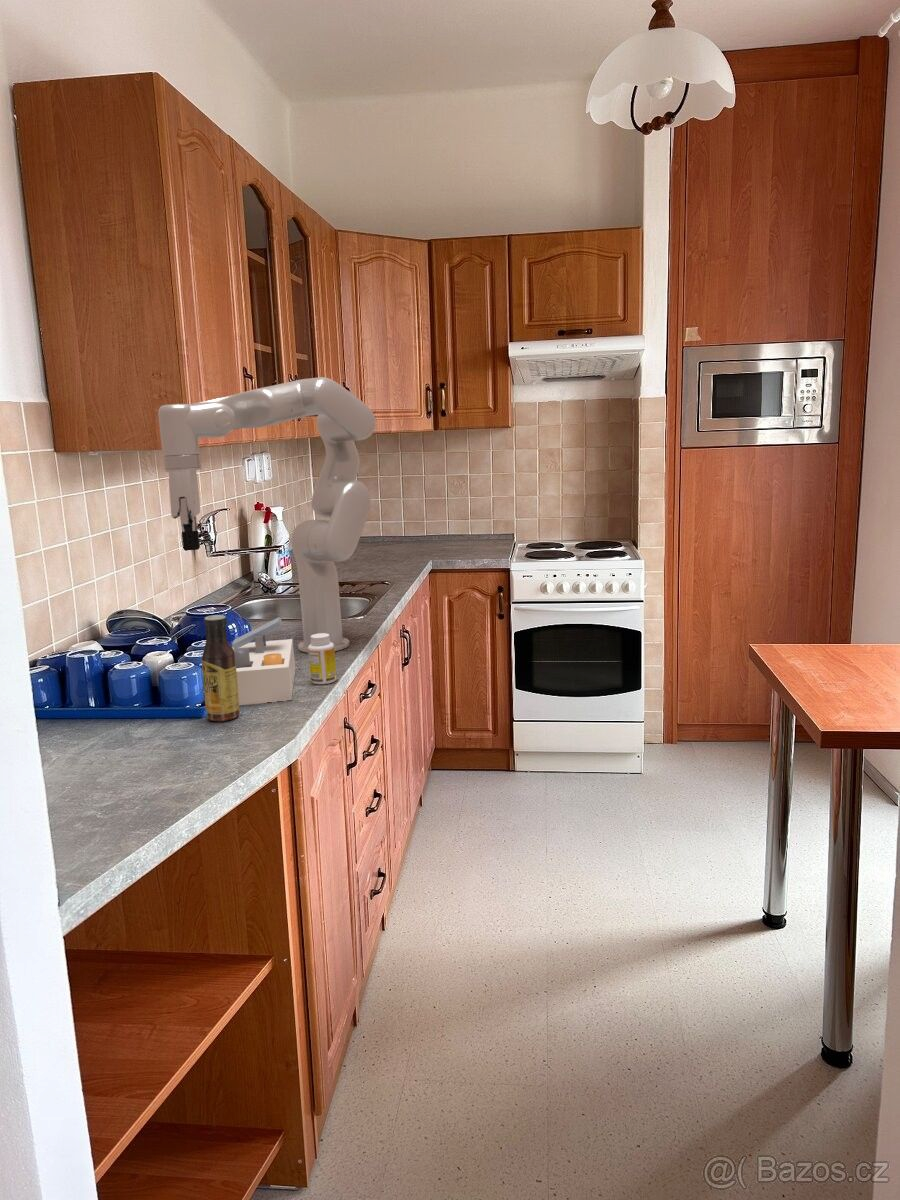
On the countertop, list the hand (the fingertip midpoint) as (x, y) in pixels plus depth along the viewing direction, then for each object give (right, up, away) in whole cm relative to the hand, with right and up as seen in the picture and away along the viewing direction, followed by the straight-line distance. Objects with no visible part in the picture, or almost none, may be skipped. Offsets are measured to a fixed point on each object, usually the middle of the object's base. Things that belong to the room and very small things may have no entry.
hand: (191, 549), depth 191 cm
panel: (+16, -29, -2) cm, 33 cm away
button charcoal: (+13, -29, -10) cm, 33 cm away
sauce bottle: (+12, -34, -21) cm, 42 cm away
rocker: (+15, -19, +1) cm, 24 cm away
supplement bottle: (+29, -29, -1) cm, 40 cm away
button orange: (+20, -30, -9) cm, 37 cm away
